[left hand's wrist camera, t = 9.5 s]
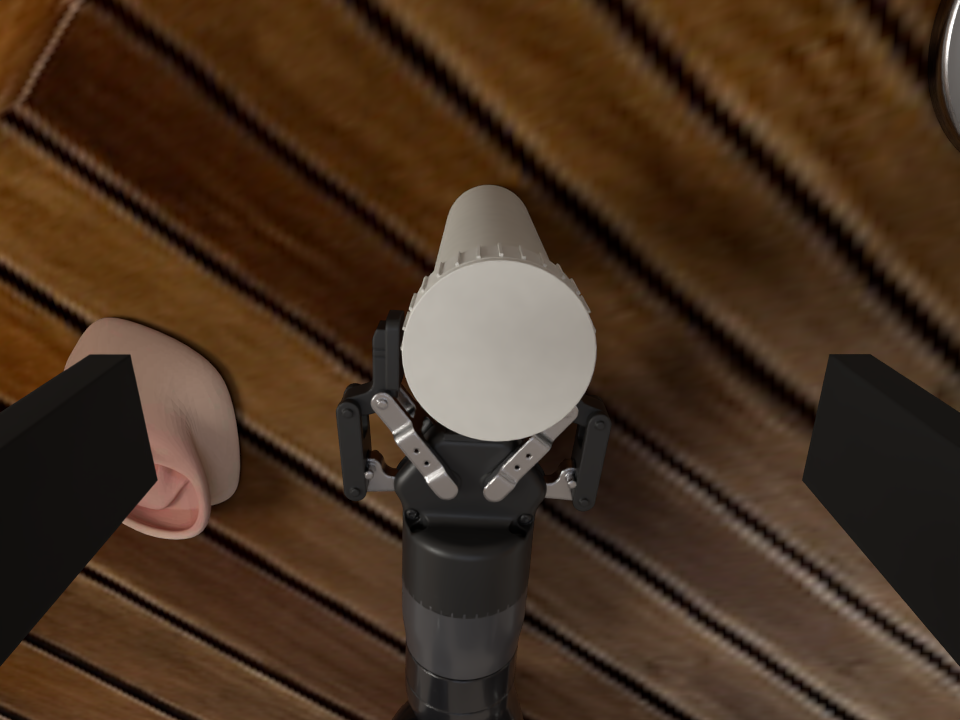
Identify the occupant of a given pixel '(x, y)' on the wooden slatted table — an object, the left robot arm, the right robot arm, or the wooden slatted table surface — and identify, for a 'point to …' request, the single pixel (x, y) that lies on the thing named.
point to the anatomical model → (174, 426)
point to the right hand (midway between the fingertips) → (479, 318)
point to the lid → (498, 343)
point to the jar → (488, 223)
